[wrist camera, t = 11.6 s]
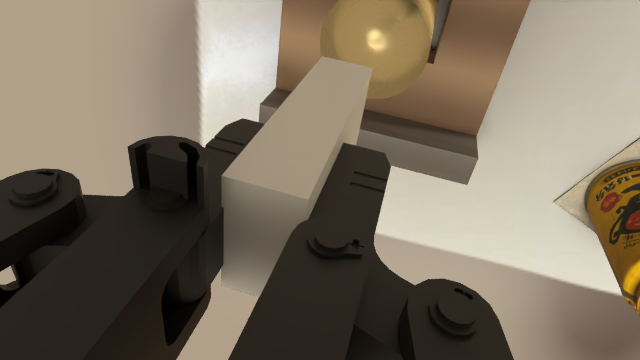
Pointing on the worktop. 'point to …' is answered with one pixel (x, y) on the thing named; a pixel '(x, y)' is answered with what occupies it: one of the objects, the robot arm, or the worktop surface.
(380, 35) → the brass cylinder
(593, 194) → the condiment
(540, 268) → the worktop surface
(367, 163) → the robot arm
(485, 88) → the jig
